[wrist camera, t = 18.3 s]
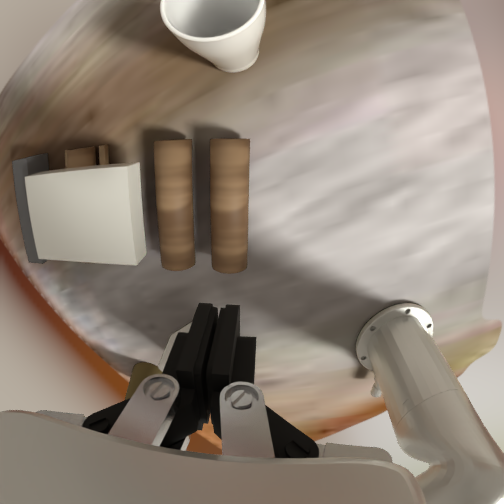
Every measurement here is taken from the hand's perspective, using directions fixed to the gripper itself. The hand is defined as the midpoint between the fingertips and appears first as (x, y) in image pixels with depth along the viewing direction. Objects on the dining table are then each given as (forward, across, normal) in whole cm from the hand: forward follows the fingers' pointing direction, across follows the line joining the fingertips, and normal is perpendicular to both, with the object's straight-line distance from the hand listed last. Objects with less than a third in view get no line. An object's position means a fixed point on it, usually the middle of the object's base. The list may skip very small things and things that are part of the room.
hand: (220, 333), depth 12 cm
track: (+23, +12, 0) cm, 26 cm away
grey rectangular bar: (+23, +28, 0) cm, 37 cm away
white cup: (+23, +2, -17) cm, 29 cm away
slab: (+19, +18, 0) cm, 26 cm away
